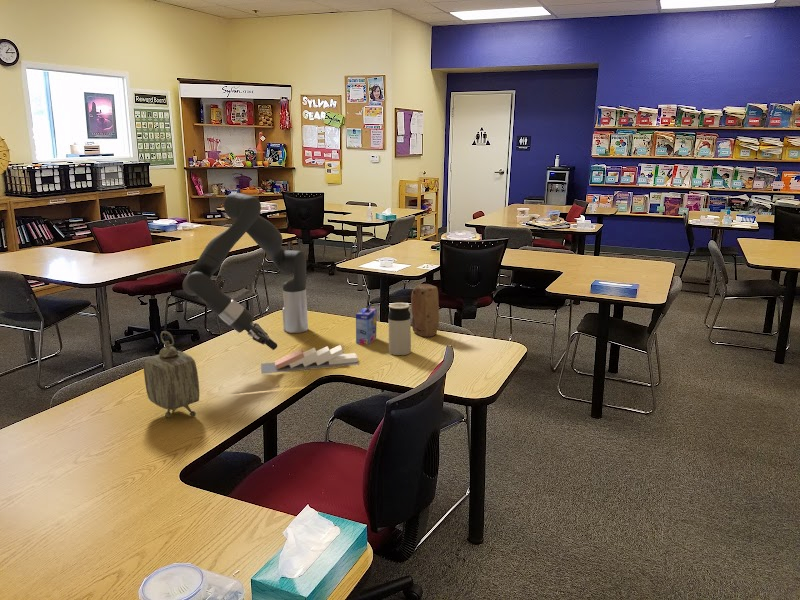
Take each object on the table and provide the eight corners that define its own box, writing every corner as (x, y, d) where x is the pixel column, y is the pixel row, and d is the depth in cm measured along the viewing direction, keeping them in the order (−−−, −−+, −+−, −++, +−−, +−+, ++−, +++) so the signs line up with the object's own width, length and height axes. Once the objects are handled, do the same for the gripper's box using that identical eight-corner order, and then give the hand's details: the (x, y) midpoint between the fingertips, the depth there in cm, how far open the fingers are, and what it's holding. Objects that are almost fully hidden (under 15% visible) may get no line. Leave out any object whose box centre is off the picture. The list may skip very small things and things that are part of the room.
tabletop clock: (202, 416, 177) (193, 332, 171) (172, 427, 171) (162, 340, 165) (176, 403, 187) (167, 323, 180) (147, 413, 180) (136, 330, 174)
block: (440, 335, 247) (440, 286, 242) (426, 339, 243) (425, 289, 238) (423, 329, 256) (422, 281, 251) (408, 332, 251) (408, 284, 246)
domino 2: (289, 364, 212) (316, 351, 213) (288, 359, 217) (314, 347, 218) (291, 368, 213) (317, 355, 214) (290, 363, 217) (316, 351, 218)
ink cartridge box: (369, 345, 236) (368, 308, 233) (355, 344, 238) (354, 308, 234) (377, 338, 245) (376, 302, 242) (364, 337, 247) (363, 301, 243)
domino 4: (315, 361, 214) (342, 349, 215) (314, 357, 219) (340, 344, 220) (317, 365, 215) (344, 353, 216) (316, 360, 219) (342, 348, 220)
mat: (261, 375, 208) (261, 373, 208) (261, 365, 218) (260, 363, 218) (359, 365, 215) (359, 364, 215) (354, 356, 225) (354, 355, 225)
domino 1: (275, 365, 211) (302, 353, 212) (274, 360, 216) (301, 348, 217) (277, 369, 212) (304, 357, 213) (276, 364, 216) (303, 352, 217)
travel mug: (407, 357, 223) (406, 308, 219) (386, 355, 226) (384, 307, 221) (413, 350, 230) (413, 303, 226) (393, 348, 233) (392, 301, 228)
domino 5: (328, 360, 215) (357, 357, 217) (327, 355, 220) (355, 353, 222) (329, 364, 215) (357, 361, 218) (327, 359, 220) (355, 357, 222)
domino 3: (302, 363, 213) (329, 350, 214) (301, 358, 218) (327, 346, 219) (304, 367, 214) (331, 354, 215) (303, 362, 218) (329, 349, 219)
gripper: (243, 312, 200) (284, 345, 206) (243, 302, 213) (282, 333, 218) (227, 329, 200) (269, 362, 206) (228, 318, 213) (267, 349, 218)
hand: (275, 347), depth 212 cm, fingers closed
